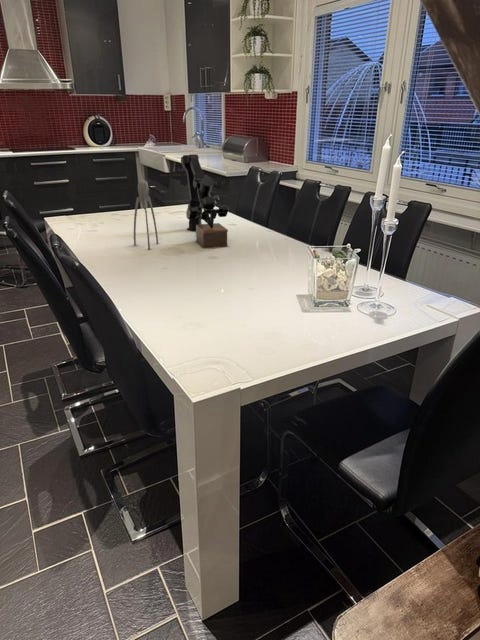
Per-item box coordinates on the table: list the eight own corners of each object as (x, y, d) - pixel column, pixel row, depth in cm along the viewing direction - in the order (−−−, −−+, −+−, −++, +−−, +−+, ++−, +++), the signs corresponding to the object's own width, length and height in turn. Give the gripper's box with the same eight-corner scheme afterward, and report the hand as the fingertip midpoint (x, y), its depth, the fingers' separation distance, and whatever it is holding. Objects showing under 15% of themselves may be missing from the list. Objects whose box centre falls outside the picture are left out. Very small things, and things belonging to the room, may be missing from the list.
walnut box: (227, 246, 220) (227, 231, 217) (203, 248, 217) (203, 232, 214) (218, 239, 232) (218, 224, 229) (196, 241, 228) (195, 226, 226)
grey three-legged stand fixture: (149, 249, 213) (144, 182, 201) (129, 248, 215) (123, 181, 203) (158, 243, 223) (154, 178, 211) (139, 242, 225) (133, 177, 213)
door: (227, 231, 217) (227, 229, 216) (203, 233, 213) (203, 231, 213) (218, 224, 229) (218, 223, 229) (195, 226, 225) (195, 224, 225)
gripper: (188, 189, 214) (195, 218, 209) (227, 188, 220) (234, 216, 215) (185, 204, 224) (191, 232, 219) (222, 202, 230) (229, 229, 225)
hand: (212, 227), depth 219 cm, fingers closed, pressing on door
